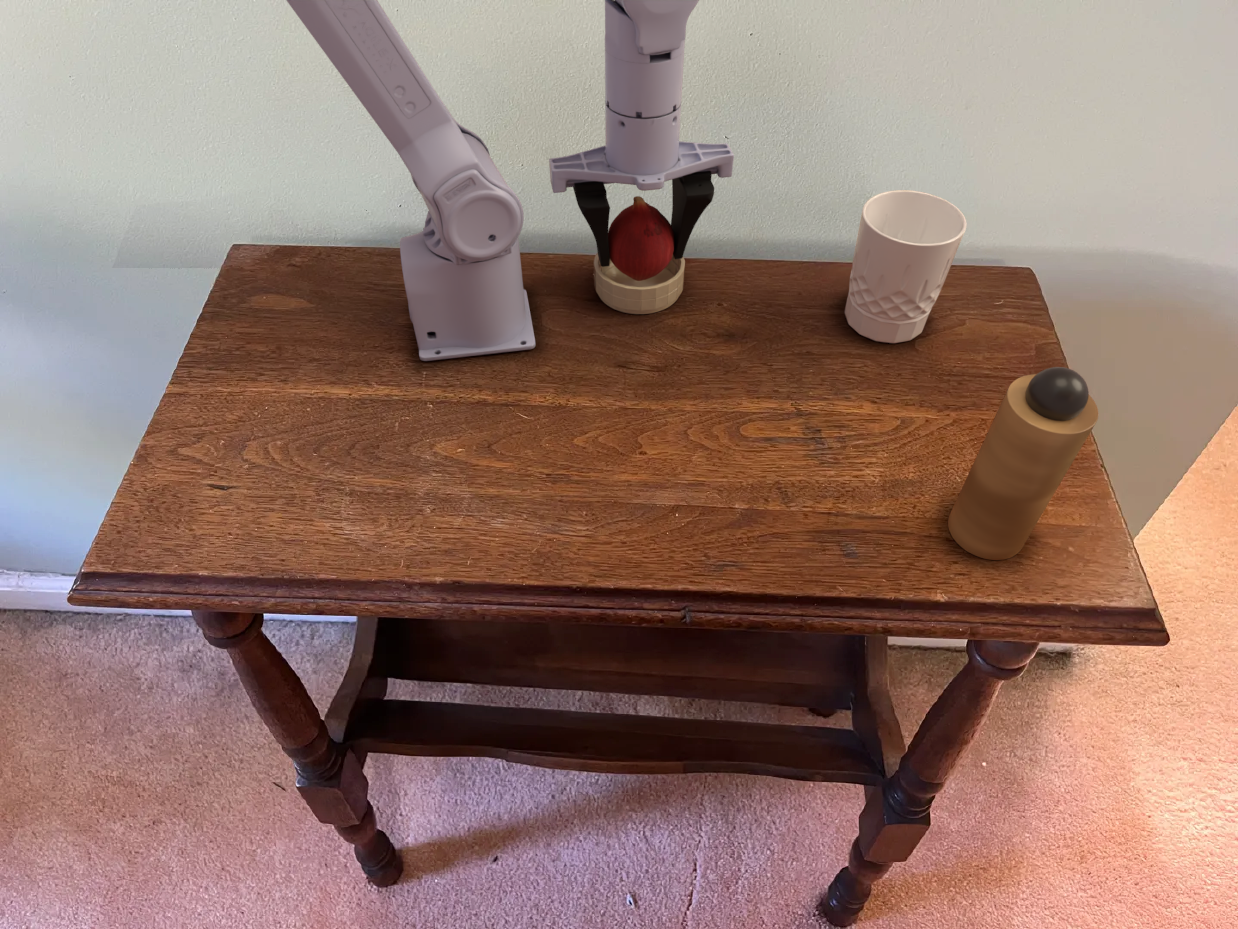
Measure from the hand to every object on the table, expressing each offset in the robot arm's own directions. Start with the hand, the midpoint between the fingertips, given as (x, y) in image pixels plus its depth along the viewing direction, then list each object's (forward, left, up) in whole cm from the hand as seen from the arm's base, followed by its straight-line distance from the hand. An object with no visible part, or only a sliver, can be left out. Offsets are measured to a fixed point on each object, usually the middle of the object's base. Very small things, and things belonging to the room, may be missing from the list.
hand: (639, 256), depth 74 cm
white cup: (+20, -8, -4) cm, 22 cm away
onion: (0, 0, -3) cm, 3 cm away
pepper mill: (+18, -31, -3) cm, 36 cm away
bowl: (0, 0, -3) cm, 3 cm away
